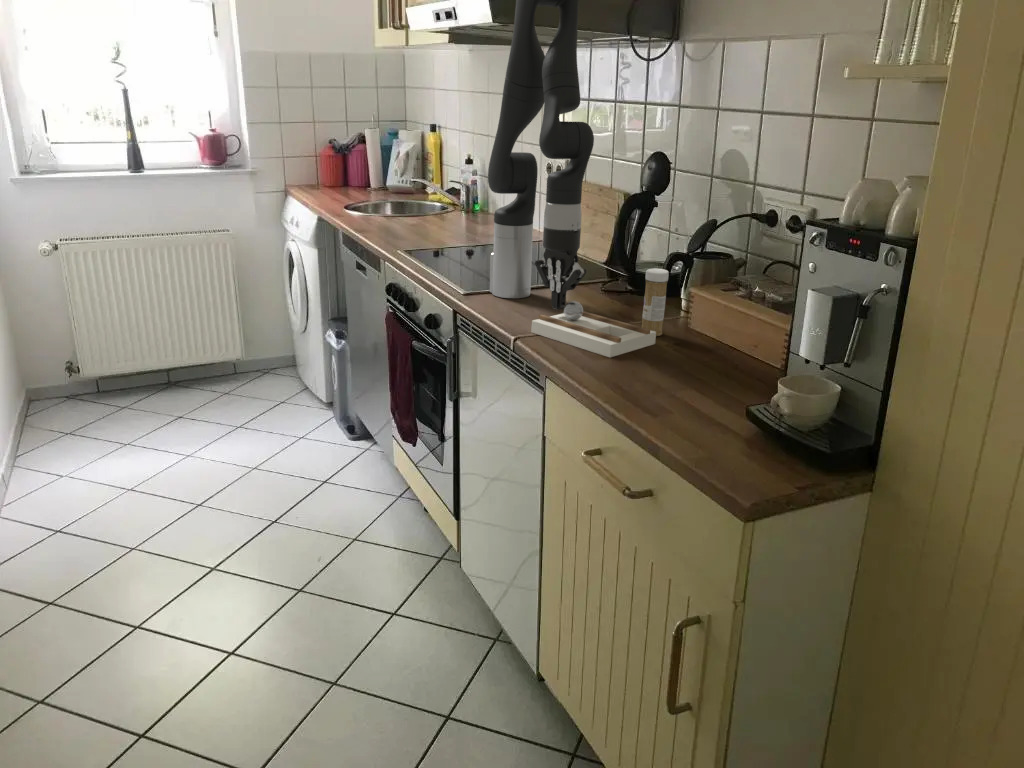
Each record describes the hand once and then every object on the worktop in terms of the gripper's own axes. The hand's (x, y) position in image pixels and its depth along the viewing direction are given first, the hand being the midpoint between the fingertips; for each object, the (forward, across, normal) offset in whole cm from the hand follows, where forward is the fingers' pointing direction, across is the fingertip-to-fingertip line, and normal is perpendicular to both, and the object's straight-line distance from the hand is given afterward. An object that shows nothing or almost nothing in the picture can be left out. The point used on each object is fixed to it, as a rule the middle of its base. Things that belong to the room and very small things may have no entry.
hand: (558, 308), depth 169 cm
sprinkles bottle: (+4, +15, +12) cm, 20 cm away
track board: (+4, +10, 0) cm, 10 cm away
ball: (0, +4, 0) cm, 4 cm away
